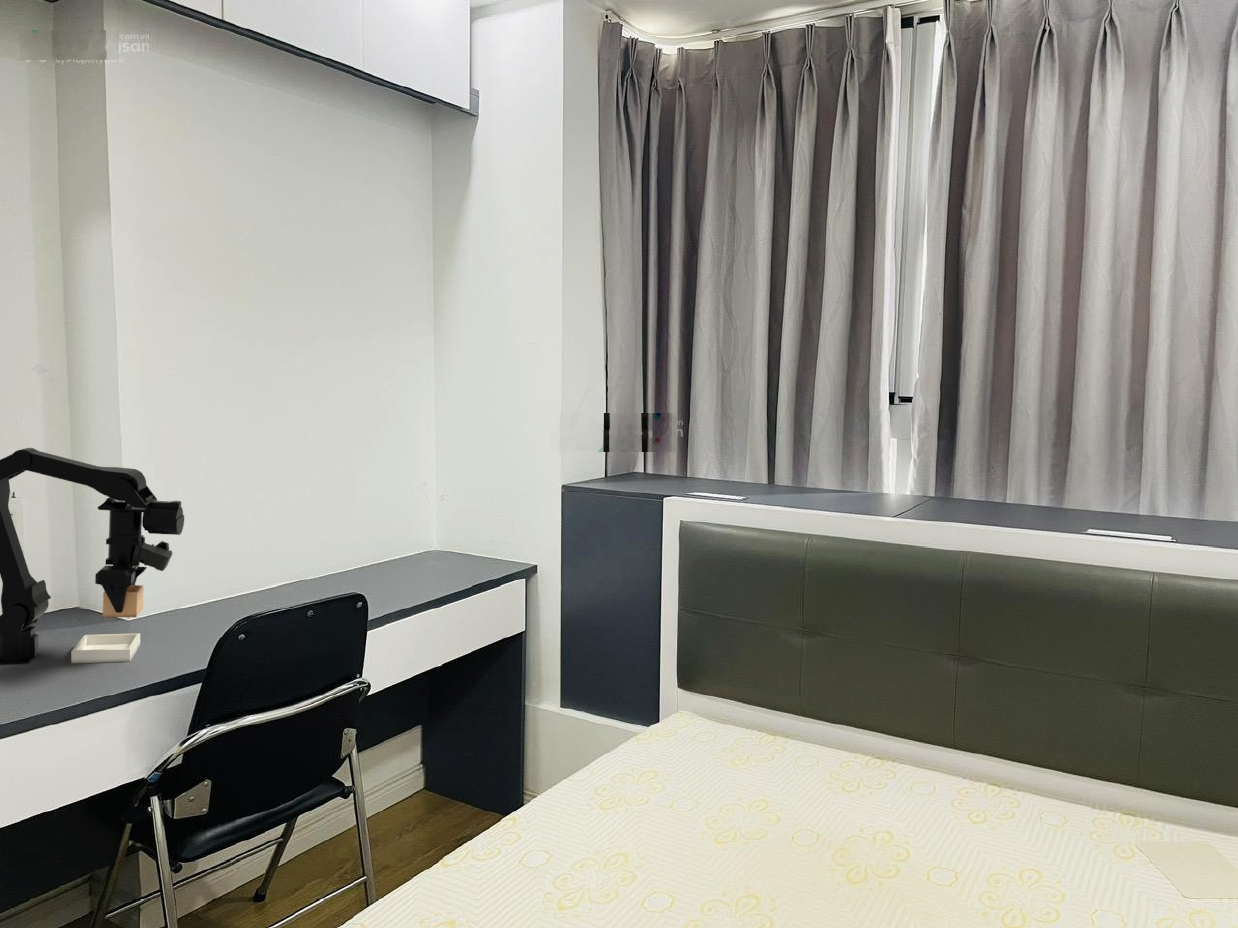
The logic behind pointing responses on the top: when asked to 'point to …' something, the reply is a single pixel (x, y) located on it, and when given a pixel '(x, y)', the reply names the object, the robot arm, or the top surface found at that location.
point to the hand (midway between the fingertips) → (122, 607)
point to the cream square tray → (105, 648)
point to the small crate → (126, 603)
